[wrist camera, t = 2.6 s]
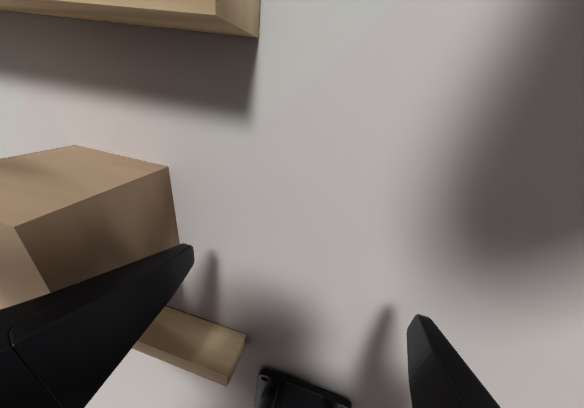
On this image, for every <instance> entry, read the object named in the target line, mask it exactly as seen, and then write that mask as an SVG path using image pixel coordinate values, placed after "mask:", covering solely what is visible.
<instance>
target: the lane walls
mask: <svg viewBox="0 0 584 408" xmlns="http://www.w3.org/2000/svg"><path fill="white" fill-rule="evenodd" d="M0 10H5V11H14V12H23V13H33V14H42V15H51V16H60V17H69V18H79V19H88V20H97V21H106V22H115V23H125V24H134V25H143V26H152V27H162V28H171V29H180V30H189V31H198V32H208V33H217V34H226V35H235V36H244V37H254V38H259V16H260V0H0ZM245 345H246V335H245V334H243V333H240V332H237V331H234V330H231V329H228V328H226V327H223V326H220V325H217V324H214V323H212V322H209V321H206V320H203V319H200V318H197V317H195V316H192V315H189V314H186V313H183V312H181V311H178V310H175V309H172V308H169V307H166V306H165V307H164V308H163V309H162V311H161V312H160V313H159V314H158V316H157V317H156V318H155V319H154V321H153V322H152V323H151V324H150V326H149V327H148V328H147V329H146V331H145V332H144V333H143V335H142V336H141V337H140V338H139V340H138V341H137V342H136V343H135V345H134V346H133V347H132V348H133V349H135V350H138V351H140V352H143V353H145V354H147V355H150V356H152V357H155V358H157V359H160V360H162V361H165V362H167V363H170V364H172V365H175V366H177V367H180V368H182V369H185V370H187V371H189V372H192V373H194V374H197V375H199V376H202V377H204V378H207V379H209V380H212V381H214V382H217V383H219V384H222V385H224V386H227V385H228V383H229V381H230V379H231V376H232V374H233V372H234V370H235V367H236V365H237V363H238V361H239V359H240V356H241V354H242V352H243V350H244V347H245Z"/></svg>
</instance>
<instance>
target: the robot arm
mask: <svg viewBox="0 0 584 408" xmlns="http://www.w3.org/2000/svg"><path fill="white" fill-rule="evenodd" d="M193 264H194V251H193V247H192V246H191V245H188V244H184V243H183V244H179V245H177V246H174V247H171V248H169V249H166V250H164V251H161V252H158V253H156V254H153V255H150V256H148V257H145V258H142V259H140V260H137V261H134V262H132V263H129V264H126V265H124V266H121V267H118V268H116V269H113V270H110V271H108V272H105V273H102V274H100V275H97V276H94V277H92V278H89V279H86V280H84V281H81V282H79V283H76V284H73V285H70V286H68V287H65V288H62V289H60V290H57V291H54V292H51V293H49V294H46V295H43V296H40V297H37V298H34V299H31V300H28V301H25V302H22V303H19V304H16V305H13V306H10V307H7V308H4V309H1V310H0V408H84V407H85V406H86V405H87V403H88V402H89V401H90V400H91V398H92V397H93V396H94V395H95V393H96V392H97V391H98V390H99V388H100V387H101V386H102V385H103V383H104V382H105V381H106V380H107V378H108V377H109V376H110V375H111V373H112V372H113V371H114V370H115V368H116V367H117V366H118V365H119V363H120V362H121V361H122V360H123V358H124V357H125V356H126V355H127V353H128V352H129V351H130V350H131V348H132V347H133V346H134V345H135V343H136V342H137V341H138V340H139V338H140V337H141V336H142V335H143V333H144V332H145V331H146V329H147V328H148V327H149V326H150V324H151V323H152V322H153V321H154V319H155V318H156V317H157V316H158V314H159V313H160V312H161V311H162V309H163V308H164V307H165V306H166V304H167V303H168V302H169V301H170V299H171V298H172V297H173V295H174V294H175V292H176V291H177V289H178V288H179V286H180V285H181V283H182V281H183V280H184V278H185V277H186V275H187V274H188V272H189V271H190V269H191V268H192V266H193ZM407 353H408V375H409V386H410V393H411V400H412V406H413V408H500V406H499V405H498V404H497V402H496V401H495V400H494V399H493V397H492V396H491V395H490V393H489V392H488V391H487V390H486V388H485V387H484V386H483V385H482V383H481V382H480V381H479V379H478V378H477V377H476V376H475V374H474V373H473V372H472V371H471V369H470V368H469V367H468V365H467V364H466V363H465V362H464V360H463V359H462V358H461V357H460V355H459V354H458V353H457V351H456V350H455V349H454V348H453V346H452V345H451V344H450V343H449V341H448V340H447V339H446V337H445V336H444V335H443V334H442V332H441V331H440V330H439V329H438V327H437V326H436V325H435V323H434V322H433V321H432V320H431V319H430V318H429V317H426V316H423V315H420V314H417V315H416V316H415V317H414V318H413V320H412V322H411V323H410V325H409V327H408V329H407ZM255 408H352V403H351V402H350V401H349V400H347V399H345V398H342V397H339V396H337V395H334V394H331V393H329V392H326V391H324V390H321V389H318V388H316V387H313V386H310V385H308V384H305V383H302V382H300V381H297V380H294V379H292V378H289V377H286V376H284V375H281V374H278V373H276V372H273V371H270V370H268V369H264V368H262V369H260V371H259V374H258V377H257V387H256V398H255Z"/></svg>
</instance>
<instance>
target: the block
mask: <svg viewBox="0 0 584 408" xmlns="http://www.w3.org/2000/svg"><path fill="white" fill-rule="evenodd" d="M177 245H179V238H178V231H177V224H176V217H175V210H174V203H173V196H172V190H171V183H170V176H169V169H168V166H163V165H159V164H155V163H150V162H146V161H142V160H137V159H133V158H129V157H124V156H120V155H116V154H111V153H107V152H103V151H98V150H94V149H90V148H85V147H81V146H77V145H72V146H67V147H61V148H56V149H51V150H45V151H40V152H35V153H29V154H24V155H19V156H13V157H8V158H2V159H0V310H1V309H4V308H7V307H10V306H13V305H16V304H19V303H22V302H25V301H28V300H31V299H34V298H37V297H40V296H43V295H46V294H49V293H51V292H54V291H57V290H60V289H62V288H65V287H68V286H70V285H73V284H76V283H79V282H81V281H84V280H86V279H89V278H92V277H94V276H97V275H100V274H102V273H105V272H108V271H110V270H113V269H116V268H118V267H121V266H124V265H126V264H129V263H132V262H134V261H137V260H140V259H142V258H145V257H148V256H150V255H153V254H156V253H158V252H161V251H164V250H166V249H169V248H171V247H174V246H177Z"/></svg>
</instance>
